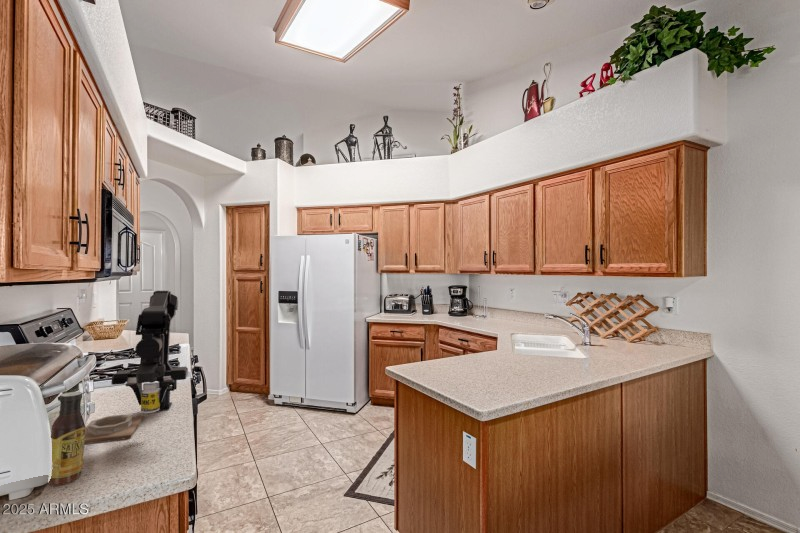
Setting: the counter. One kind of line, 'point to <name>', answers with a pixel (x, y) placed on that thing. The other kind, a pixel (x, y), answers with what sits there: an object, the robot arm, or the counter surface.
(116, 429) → the brown board with ring
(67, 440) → the sauce bottle
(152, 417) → the counter surface
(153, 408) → the supplement bottle
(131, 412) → the counter surface
